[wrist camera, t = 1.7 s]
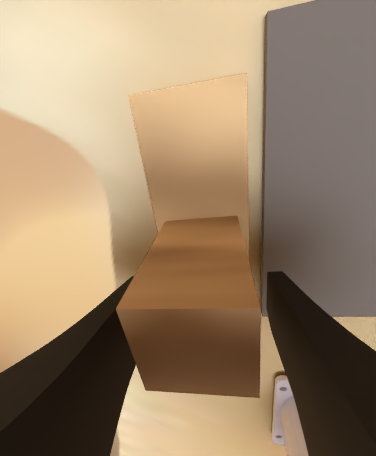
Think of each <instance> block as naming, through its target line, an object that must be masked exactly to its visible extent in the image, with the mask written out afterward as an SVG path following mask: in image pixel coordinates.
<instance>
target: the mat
mask: <svg viewBox="0 0 376 456" xmlns="http://www.w3.org/2000/svg"><path fill="white" fill-rule="evenodd" d="M274 271H283V272H284V273H285V274H286V275H287V276H288V277H289V278H290V279H291V280H292V281H293V282H294V283H295V284H296V285H297V286H298V287H299V288H300V289H301V290H302V291H303V292H304V293H305V294H306V295H308V296H309V297H310V298H311V299H312V300H313V301H314V302H315V303H316V304H317V305H319V306H320V307H321V308H322V309H323V310H324V311H325V312H326V313H328V314H329V315H330V316H331V317H376V0H315V1H310V2H306V3H302V4H298V5H293V6H289V7H285V8H281V9H276V10H272V11H268V12H267V14H266V17H265V61H264V135H263V210H262V284H261V313H262V316H268V313H267V308H266V300H267V272H274Z"/></svg>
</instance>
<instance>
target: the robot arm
mask: <svg viewBox="0 0 376 456" xmlns="http://www.w3.org/2000/svg"><path fill="white" fill-rule="evenodd" d="M133 278H134V276H132V277H131V278H130V279H128V280H127V281H126V282H125V283H124V284H122V285H121V286H120V287H119V288H118V289H117V290H115V291H114V292H113V293H112V294H111V295H110V296H109V297H107V298H106V299H105V300H104V301H103V302H102V303H100V304H99V305H98V306H97V307H96V308H94V309H93V310H92V311H91V312H89V313H88V314H87V315H86V316H84V317H83V318H82V319H81V320H80V321H78V322H77V323H76V324H74V325H73V326H72V327H70V328H69V329H68V330H66V331H65V332H63V333H62V334H61V335H59V336H58V337H56V338H55V339H53V340H52V341H51V342H49V343H48V344H46V345H45V346H43V347H42V348H40V349H39V350H37V351H36V352H34V353H32V354H31V355H29V356H27V357H26V358H24V359H23V360H21V361H20V362H18V363H16V364H15V365H13V366H11V367H10V368H8V369H6V370H5V371H3V372H1V373H0V456H110V453H111V448H112V445H113V441H114V436H115V433H116V429H117V425H118V421H119V417H120V413H121V410H122V406H123V402H124V398H125V395H126V392H127V388H128V385H129V382H130V379H131V377H132V374H133V371H134V368H135V366H136V363H135V360H134V357H133V355H132V352H131V349H130V347H129V344H128V341H127V338H126V336H125V333H124V330H123V328H122V325H121V322H120V319H119V317H118V314H117V311H116V308H117V306H118V304H119V302H120V301H121V299H122V297H123V295H124V293H125V292H126V290H127V288H128V286H129V285H130V283H131V281H132V279H133ZM266 308H267V313H268V318H269V322H270V327H271V331H272V334H273V337H274V340H275V343H276V346H277V349H278V352H279V355H280V358H281V361H282V364H283V367H284V370H285V373H286V375H280V376H277V377H276V378H275V389H274V405H273V421H272V441H273V443H274V444H276V445H285V448H286V452H287V456H376V351H375V350H373V349H372V348H371V347H369V346H368V345H366V344H365V343H364V342H362V341H361V340H360V339H358V338H357V337H356V336H354V335H353V334H352V333H350V332H349V331H348V330H347V329H346V328H344V327H343V326H342V325H341V324H339V323H338V322H337V321H336V320H335V319H333V318H332V317H331V316H330V315H329V314H328V313H326V312H325V311H324V310H323V309H322V308H321V307H320V306H319V305H317V304H316V303H315V302H314V301H313V300H312V299H311V298H310V297H309V296H308V295H306V294H305V293H304V292H303V291H302V290H301V289H300V288H299V287H298V286H297V285H296V284H295V283H294V282H293V281H292V280H291V279H290V278H289V277H288V276H287V275H286V274H285V273H284V272H283V271H274V272H267V300H266Z"/></svg>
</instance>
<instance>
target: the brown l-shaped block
mask: <svg viewBox="0 0 376 456" xmlns="http://www.w3.org/2000/svg"><path fill="white" fill-rule="evenodd" d="M128 96H129V101H130V105H131V110H132V115H133V119H134V124H135V129H136V133H137V138H138V143H139V147H140V152H141V157H142V161H143V166H144V171H145V175H146V180H147V185H148V189H149V194H150V199H151V203H152V208H153V213H154V217H155V222H156V227H157V231H158V235H157V237H156V239H155V240H154V242H153V244H152V246H151V247H150V249H149V251H148V253H147V255H146V256H145V258H144V260H143V262H142V263H141V265H140V267H139V269H138V270H137V272H136V274H135V276H134V278H133V279H132V281H131V283H130V285H129V286H128V288H127V290H126V292H125V293H124V295H123V297H122V299H121V301H120V302H119V304H118V306H117V308H116V311H117V314H118V317H119V319H120V322H121V325H122V328H123V330H124V333H125V336H126V338H127V341H128V344H129V347H130V349H131V352H132V355H133V357H134V360H135V363H136V365H137V368H138V371H139V374H140V376H141V379H142V382H143V384H144V387H145V390H147V391H162V392H178V393H193V394H209V395H224V396H240V397H255V398H259V395H260V325H261V307H260V304H259V300H258V296H257V292H256V288H255V284H254V280H253V276H252V272H251V268H250V264H249V215H248V145H247V75H246V73H244V74H239V75H234V76H228V77H223V78H218V79H212V80H207V81H202V82H197V83H191V84H186V85H181V86H175V87H170V88H165V89H159V90H154V91H149V92H144V93H138V94H133V95H128Z"/></svg>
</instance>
